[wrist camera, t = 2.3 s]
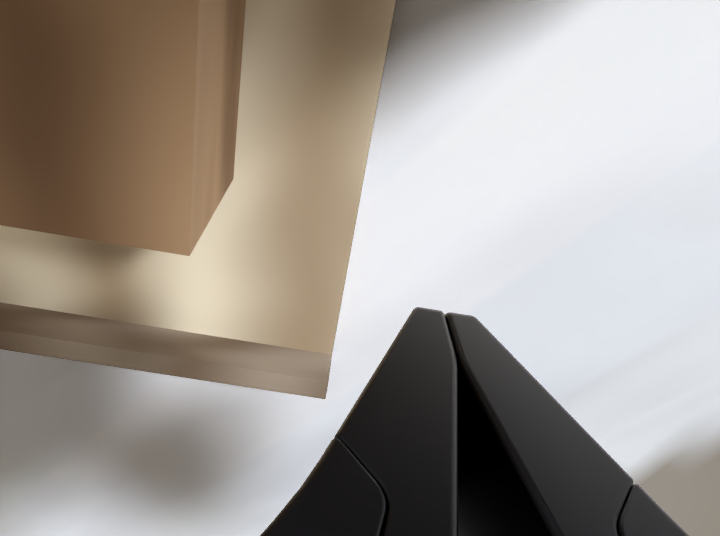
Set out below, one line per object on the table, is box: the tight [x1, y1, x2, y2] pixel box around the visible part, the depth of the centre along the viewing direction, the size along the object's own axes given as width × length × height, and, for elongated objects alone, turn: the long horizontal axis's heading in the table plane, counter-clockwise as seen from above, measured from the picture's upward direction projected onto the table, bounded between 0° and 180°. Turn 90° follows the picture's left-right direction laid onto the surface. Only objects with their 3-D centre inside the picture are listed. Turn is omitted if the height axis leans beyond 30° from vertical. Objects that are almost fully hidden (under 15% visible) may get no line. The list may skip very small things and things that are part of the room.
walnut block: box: [0, 0, 246, 256], centre depth 16 cm, size 6×6×5 cm
